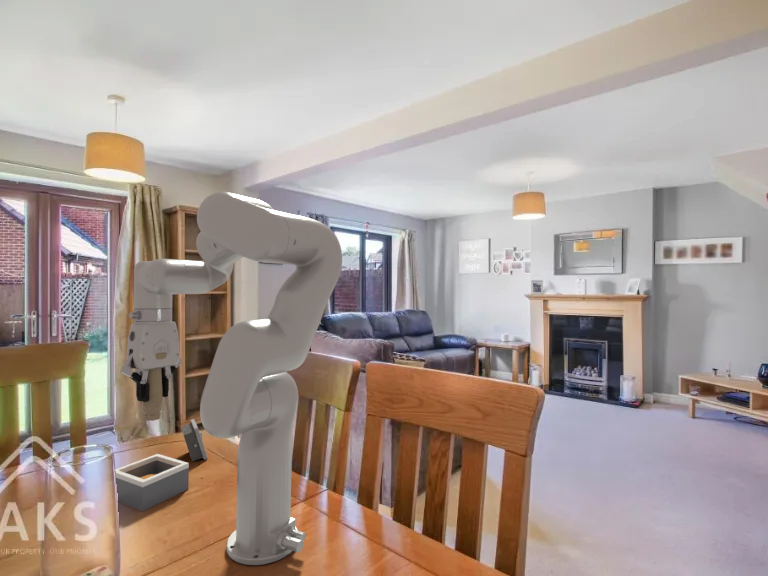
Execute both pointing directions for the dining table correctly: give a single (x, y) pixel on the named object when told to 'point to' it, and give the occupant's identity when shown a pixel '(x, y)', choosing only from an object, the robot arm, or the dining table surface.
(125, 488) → the box
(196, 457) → the electrical switch
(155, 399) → the handle
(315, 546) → the dining table surface
